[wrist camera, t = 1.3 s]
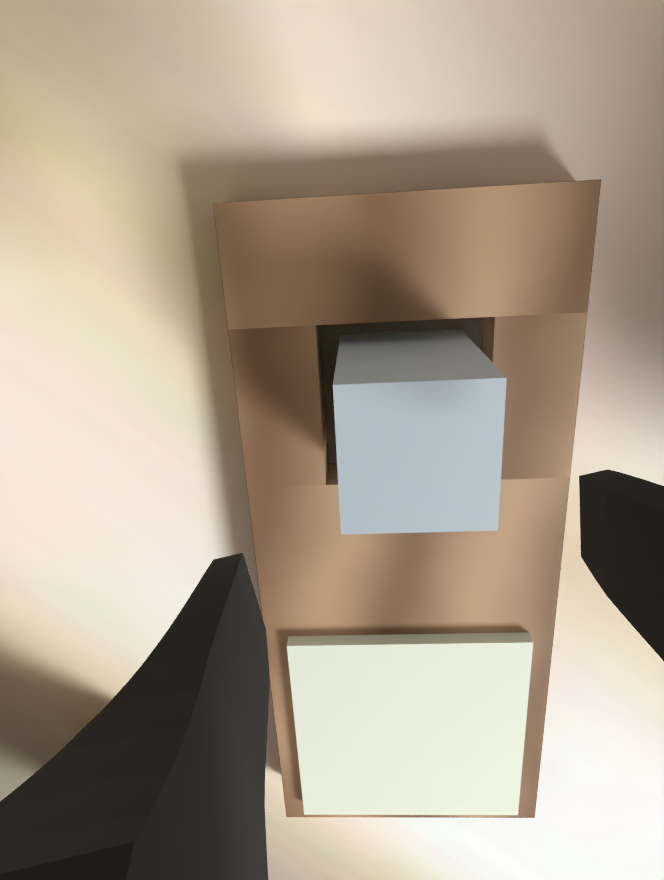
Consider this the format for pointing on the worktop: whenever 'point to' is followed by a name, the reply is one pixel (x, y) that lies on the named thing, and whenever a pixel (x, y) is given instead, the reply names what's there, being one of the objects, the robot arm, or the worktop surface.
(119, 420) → the worktop surface
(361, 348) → the part block
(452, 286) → the pocket board
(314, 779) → the felt pad
